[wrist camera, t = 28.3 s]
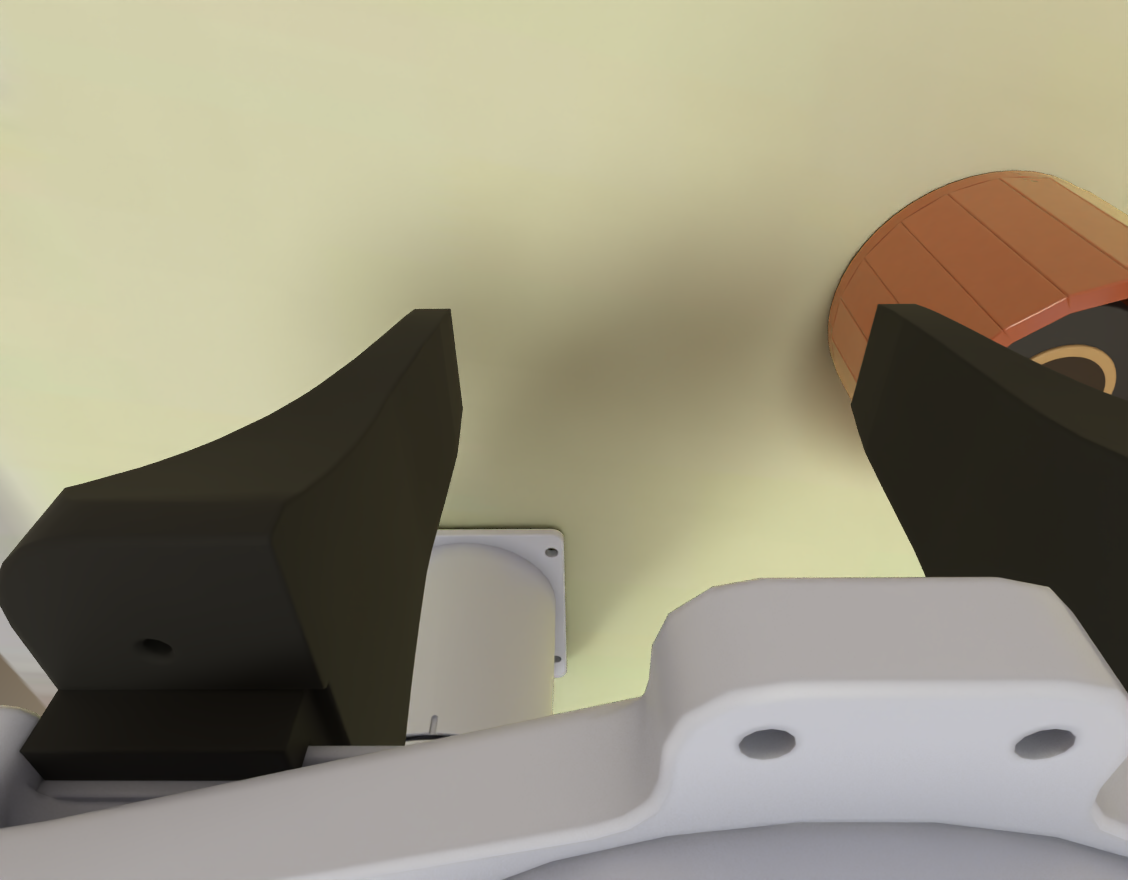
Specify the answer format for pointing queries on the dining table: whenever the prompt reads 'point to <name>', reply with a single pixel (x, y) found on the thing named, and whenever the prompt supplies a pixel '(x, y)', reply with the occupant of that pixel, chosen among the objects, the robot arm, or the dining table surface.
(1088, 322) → the tape roll
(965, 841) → the robot arm
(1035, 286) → the pen cup
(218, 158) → the dining table surface
